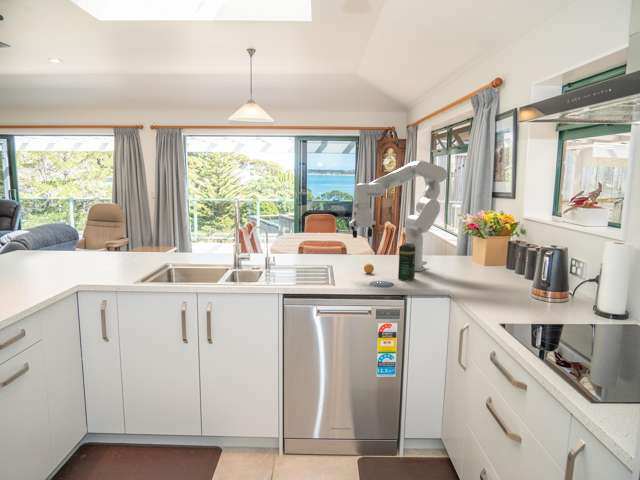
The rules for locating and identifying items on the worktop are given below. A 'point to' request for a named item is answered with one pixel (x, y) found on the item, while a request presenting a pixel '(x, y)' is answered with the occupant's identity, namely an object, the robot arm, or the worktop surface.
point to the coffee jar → (406, 262)
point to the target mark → (382, 284)
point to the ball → (368, 268)
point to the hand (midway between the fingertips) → (362, 237)
